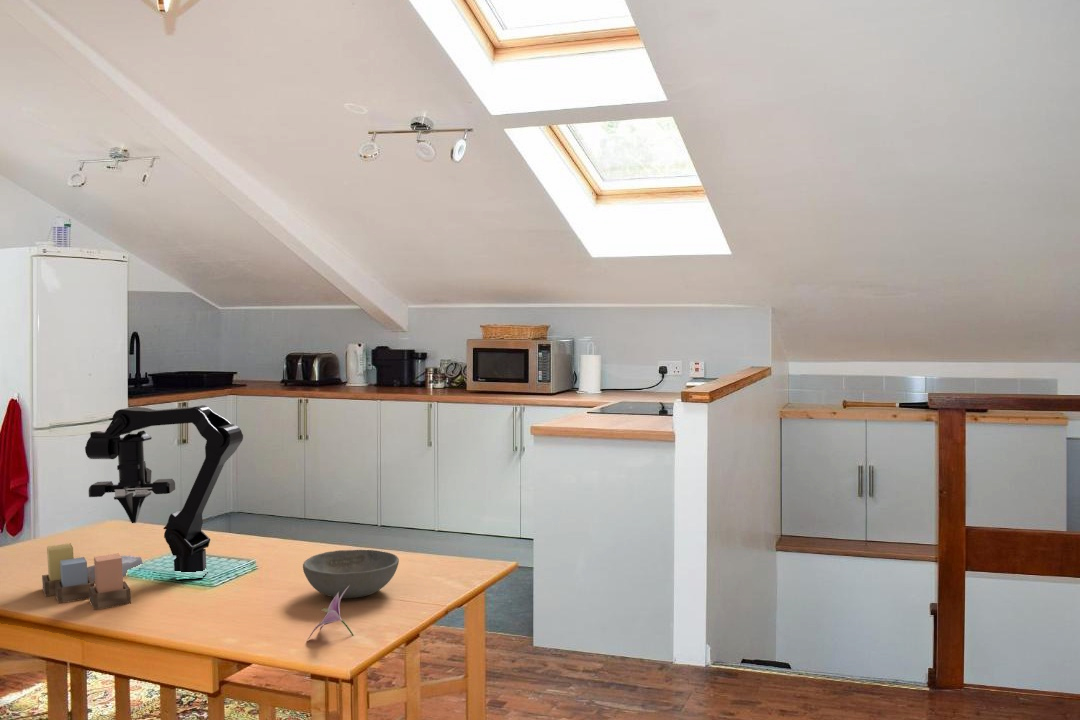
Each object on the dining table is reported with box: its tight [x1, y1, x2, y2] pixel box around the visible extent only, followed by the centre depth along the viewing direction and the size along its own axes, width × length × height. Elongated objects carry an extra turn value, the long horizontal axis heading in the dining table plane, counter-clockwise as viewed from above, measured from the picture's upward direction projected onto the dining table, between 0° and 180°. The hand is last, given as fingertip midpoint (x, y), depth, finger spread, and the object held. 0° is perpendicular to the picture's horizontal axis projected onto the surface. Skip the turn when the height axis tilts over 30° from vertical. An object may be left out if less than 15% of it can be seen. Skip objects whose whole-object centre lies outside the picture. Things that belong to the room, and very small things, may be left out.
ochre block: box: [46, 543, 75, 581], centre depth 218 cm, size 5×5×8 cm
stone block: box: [87, 555, 144, 582], centre depth 230 cm, size 12×5×10 cm
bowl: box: [302, 549, 400, 599], centre depth 209 cm, size 21×21×8 cm
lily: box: [306, 586, 354, 642], centre depth 182 cm, size 12×12×10 cm
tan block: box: [93, 552, 124, 593], centre depth 207 cm, size 5×5×8 cm
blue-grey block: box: [60, 556, 88, 588], centre depth 212 cm, size 5×5×8 cm
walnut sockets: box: [41, 574, 132, 611], centre depth 213 cm, size 15×25×3 cm, turn 32°
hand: (134, 522), depth 228 cm, fingers closed
